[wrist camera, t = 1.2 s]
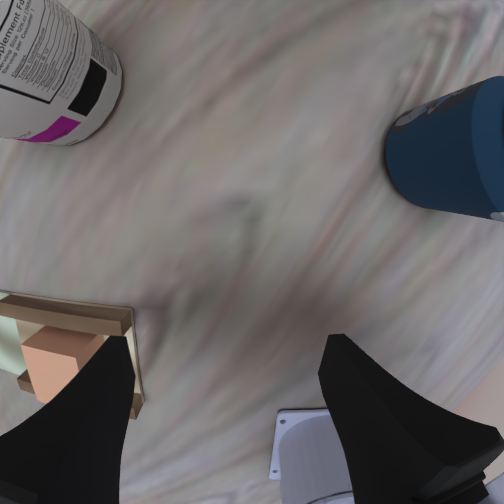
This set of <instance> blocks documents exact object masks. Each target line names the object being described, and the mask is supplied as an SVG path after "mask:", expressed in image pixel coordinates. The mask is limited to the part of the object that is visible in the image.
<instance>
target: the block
mask: <svg viewBox="0 0 504 504" xmlns="http://www.w3.org/2000/svg"><path fill="white" fill-rule="evenodd" d="M103 343H104V336H103V335H99V334H92V333H86V332H80V331H74V330H68V329H62V328H57V327H51V326H46V325H45V326H44V327H43V328H41V329H40V330H39V331H37V332H36V333H35V334H33V335H32V336H31V337H30V338H28V339H27V340H26V341H24V342H23V343H22V344H21V349H22V352H23V356H24V360H25V363H26V366H27V370H28V373H29V376H30V380H31V383H32V386H33V389H34V392H35V394H36V397H37V400H38V401H40V402H43V403H46V404H47V403H48V402H49V401H51V400H52V399H53V398H54V397H55V396H56V395H57V394H58V393H59V392H60V391H61V390H62V389H63V388H64V387H65V386H66V385H67V384H68V383H69V382H70V381H71V380H72V379H73V378H74V377H75V376H76V374H77V373H78V372H79V371H80V370H81V369H82V368H83V366H84V365H85V364H86V363H87V362H88V361H89V360H90V358H91V357H92V356H93V355H94V354H95V352H96V351H97V350H98V349H99V348H100V347H101V345H102V344H103Z"/></svg>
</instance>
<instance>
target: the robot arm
mask: <svg viewBox="0 0 504 504" xmlns="http://www.w3.org/2000/svg"><path fill="white" fill-rule="evenodd" d="M318 376H319V380H320V385H321V389H322V393H323V397H324V400H325V402H326V405H327V408H328V409H319V410H284V411H280V412H279V413H278V414H277V420H276V428H275V435H274V443H273V450H272V457H271V464H270V471H269V478H270V479H272V480H280V487H281V498H282V504H504V473H502V474H501V475H500V476H498V477H496V478H495V479H493V480H492V481H491V482H489V483H488V484H486V485H484V483H483V481H482V480H484V479H485V478H486V476H485V474H484V472H483V470H484V469H485V468H486V467H487V466H489V465H490V464H491V463H492V462H493V461H494V460H495V459H496V458H497V457H498V456H499V455H500V454H501V453H502V452H503V450H504V439H503V438H502V436H501V435H500V433H499V432H498V430H497V428H496V427H493V426H489V425H485V424H481V423H478V422H475V421H472V420H469V419H467V418H464V417H461V416H459V415H456V414H454V413H452V412H450V411H447V410H445V409H443V408H441V407H440V406H438V405H436V404H434V403H432V402H430V401H428V400H427V399H425V398H423V397H422V396H420V395H419V394H417V393H415V392H414V391H412V390H411V389H409V388H408V387H406V386H405V385H404V384H402V383H401V382H400V381H398V380H397V379H396V378H394V377H393V376H392V375H391V374H389V373H388V372H387V371H386V370H384V369H383V368H382V367H381V366H380V365H379V364H377V363H376V362H375V361H374V360H373V359H372V358H371V357H369V356H368V355H367V354H366V353H365V352H364V351H363V350H362V349H361V348H359V347H358V346H357V345H356V344H355V343H354V342H353V341H352V340H351V339H349V338H348V337H347V336H346V335H345V334H333V335H328V339H327V343H326V347H325V350H324V354H323V357H322V361H321V364H320V368H319V371H318ZM135 378H136V375H135V371H134V367H133V363H132V359H131V355H130V351H129V346H128V342H127V337H126V336H113V335H110V336H109V337H108V338H107V339H106V341H105V342H104V343H103V344H102V345H101V347H100V348H99V349H98V350H97V351H96V352H95V354H94V355H93V356H92V357H91V358H90V360H89V361H88V362H87V363H86V364H85V365H84V366H83V368H82V369H81V370H80V371H79V372H78V373H77V374H76V376H75V377H74V378H73V379H72V380H71V381H70V382H69V383H68V384H67V385H66V386H65V387H64V388H63V389H62V390H61V391H60V392H59V393H58V394H57V395H56V396H55V397H54V398H53V399H52V400H51V401H49V402H48V403H47V404H46V405H45V406H44V407H43V408H41V409H40V410H39V411H38V412H36V413H35V414H33V415H32V416H31V417H29V418H28V419H27V420H25V421H24V422H22V423H21V424H20V425H18V426H17V427H15V428H13V429H12V430H10V431H8V432H7V433H5V434H3V435H1V436H0V504H119V481H120V464H121V455H122V449H123V444H124V439H125V434H126V430H127V425H128V421H129V416H130V412H131V407H132V403H133V397H134V388H135ZM281 420H284V421H281Z"/></svg>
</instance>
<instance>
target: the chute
mask: <svg viewBox="0 0 504 504" xmlns="http://www.w3.org/2000/svg"><path fill="white" fill-rule="evenodd" d="M45 325H46V326H51V327H57V328H62V329H68V330H74V331H80V332H86V333H92V334H99V335H103V336H104V342H105V341H106V339H107V338H108V337H109V336H110V335H113V336H126V337H127V342H128V346H129V351H130V355H131V359H132V363H133V367H134V371H135V375H136V378H135V388H134V397H133V403H132V407H131V412H130V416H129V418H130V419H135V420H136V419H137V417H138V414H139V412H140V410H141V408H142V405H143V403H144V396H143V390H142V384H141V377H140V370H139V363H138V355H137V347H136V338H135V328H134V318H133V308H129V307H119V306H110V305H101V304H92V303H84V302H76V301H68V300H61V299H53V298H46V297H40V296H33V295H27V294H20V293H14V292H8V291H2V290H0V368H1V369H3V370H6V371H9V372H12V373H15V374H18V375H20V376H19V377H18V378H17V381H18V384H19V387H20V389H21V390H24V391H27V392H30V393H33V394H35V392H34V389H33V386H32V383H31V380H30V376H29V373H28V370H27V366H26V363H25V360H24V356H23V352H22V349H21V344H22V343H23V342H24V341H26V340H27V339H28V338H30V337H31V336H32V335H33V334H35V333H36V332H37V331H39V330H40V329H41V328H43V327H44V326H45Z"/></svg>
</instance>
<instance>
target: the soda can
mask: <svg viewBox="0 0 504 504" xmlns="http://www.w3.org/2000/svg"><path fill="white" fill-rule="evenodd" d="M385 153H386V163H387V167H388V171H389V174H390V176H391V179H392V181H393V182H394V184H395V186H396V187H397V189H398V190H399V191H400V193H401V194H402V195H403V196H404V197H405V198H406V199H407V200H409V201H410V202H412V203H413V204H415V205H417V206H419V207H423V208H427V209H434V210H440V211H446V212H452V213H458V214H464V215H470V216H475V217H481V218H486V219H492V220H497V221H502V222H504V76H495V77H492V78H489V79H486V80H484V81H481V82H478V83H476V84H473V85H471V86H468V87H465V88H463V89H460V90H458V91H455V92H453V93H450V94H448V95H445V96H443V97H440V98H438V99H436V100H433V101H431V102H428V103H426V104H424V105H421V106H419V107H416V108H414V109H412V110H410V111H407V112H405V113H404V114H402V115H401V116H400V117H399V118H398V119H397V120H396V121H395V122H394V123H393V125H392V127H391V129H390V131H389V133H388V137H387V141H386V152H385Z"/></svg>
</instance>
